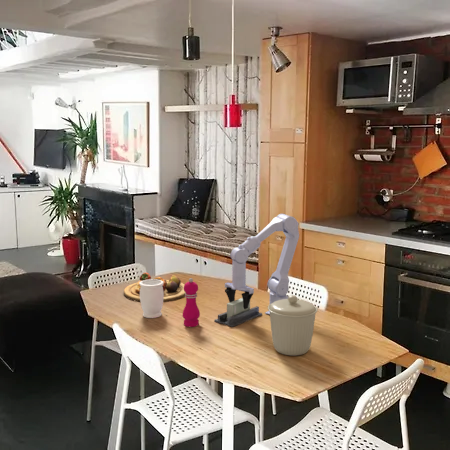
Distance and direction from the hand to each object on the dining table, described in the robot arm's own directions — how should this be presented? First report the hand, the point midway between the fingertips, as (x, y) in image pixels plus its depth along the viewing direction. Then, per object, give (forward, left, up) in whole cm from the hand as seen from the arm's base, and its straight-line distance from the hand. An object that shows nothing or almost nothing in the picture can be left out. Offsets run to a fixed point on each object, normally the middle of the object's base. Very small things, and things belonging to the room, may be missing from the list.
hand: (238, 306), depth 241 cm
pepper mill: (+10, +19, -6) cm, 22 cm away
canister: (-37, +14, -6) cm, 40 cm away
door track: (0, 0, -5) cm, 5 cm away
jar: (+31, +22, -6) cm, 38 cm away
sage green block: (0, 0, -4) cm, 4 cm away
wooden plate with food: (+55, -2, -6) cm, 55 cm away
